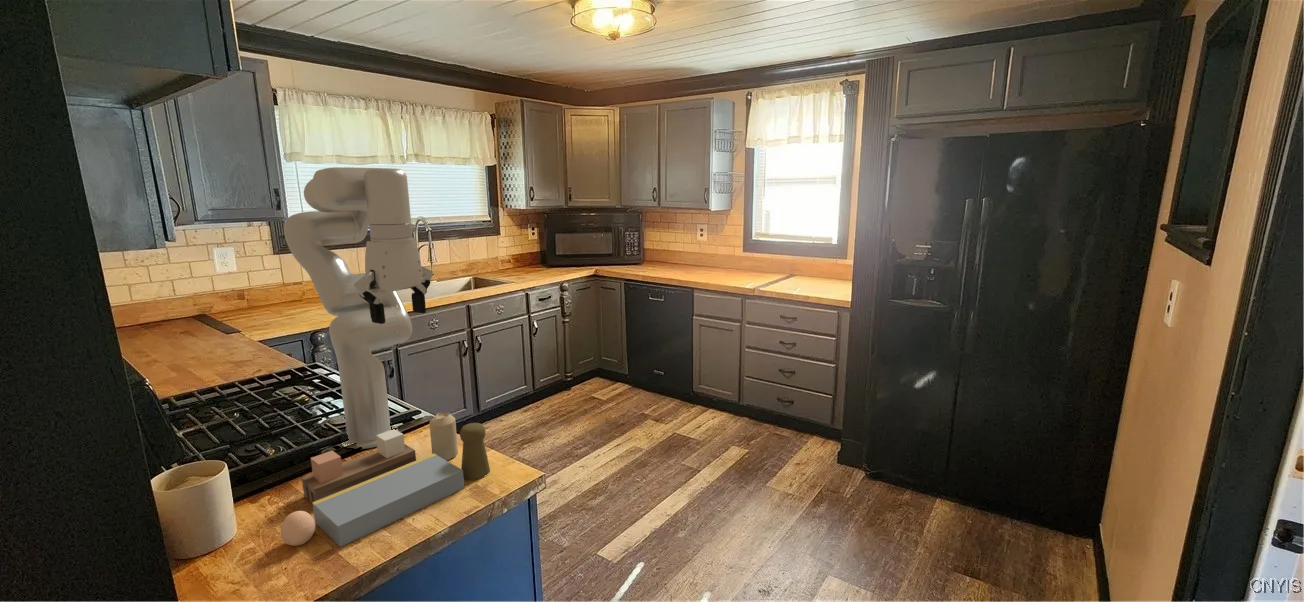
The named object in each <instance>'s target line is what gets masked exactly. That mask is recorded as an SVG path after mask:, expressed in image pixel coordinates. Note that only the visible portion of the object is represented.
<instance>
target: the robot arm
mask: <svg viewBox="0 0 1304 602" xmlns="http://www.w3.org/2000/svg"><path fill="white" fill-rule="evenodd" d="M407 177H408V176H407V174H406V172H405V171H404V170H402V169H401V168H393V167H391V168H389V167H386V168H384V167H353V166H351V167H350V166H348V167H345V166H344V167H342V166H341V167H340V166H339V167H335V166H334V167H327V168H322V169H319V170H316V171H315V172H314V174H313V177H312V179H310V180H309V181H308V182H307V183H306V184H305V186H304V189H303V197H304V199H305V201H306V203H307V204H308V205H309V206H310V207H311V208H312V209H314V210H313V211H302V212H298V213H294V214H291V215H290V216H288V217H287V218H286V220H285V221H284V224H283V233H284V237H285V242H286V244H287V247H288V249H289V251H290V253H291V254H292V256H293V257H294V259H295V260H296V261H297V262H298V264H300V265H301V267H302V268H303V269H304V270H305V271H306V273H307V274H308V276H309V278H310V280H311V282H312V284H313V286H314V288H315V290H316V294H317V295H318V297H319V300H320V302H321V304H322V305H323V307H324V309H325V310H326V311H327V313H328V314H330V315H331V316H335V317H334V319H332V321H331V322H330V324H329V326H328V327H329V328H328V331H329V337H330V341H331V345H332V347H333V350H334V353H335V354H334V355H335V358H336V363H337V367H338V373H339V383H340V387H341V388H340V390H341V397H342V405H343V411H344V421H345V427H346V428H345V429H346V430H345V431H346V432H347V435H348V439H349V440H348V441H346V442H344V443H343V444H345V445H346V444H347V445H348V444H352V443H357V444H356V445H357V446H359V447H362V449H361V450H364V449H372V448H377V439H376V435H378V434H381V433H384V432H387V431H390V430H391V426H390V423H391V418H390V417H391V416H390V408H389V400H388V399H389V398H388V389H387V379H386V371H385V367H384V364H383V362H382V361H381V360H380V359H379V358H377V357H376V356H375V355H374V354H373V353H372V351H373V350H377V349H381V348H386V347H392V346H395V345H399V344H402V343H405V342H407V341H408V340H409V339H410V338H411V336H412V334H413V324H412V321H411V318H410V316H409V313H408V310H407V308H405V306H404V303H403V301H402V299H401V297H400V296H399V293H398V292H399V291H402V290H407V289H410V290H411V291H412V293H411V306H412V311H413V312H414V313H419V314H426V313H427V308H426V296H425V295H426V294H427V293H428V288H429V286H430V285H431V280H432V277H433V274H434V273H433V270H431V269H430V268H429V269H428V268H426V267H424V266H422V262H421V257H420V253H419V248H418V246H417V242H416V239H415V237H413V233H414V232H415V231H416V226H415V225H412V217H411V207H410V196H409V185H408V184H409V183H408V178H407ZM368 230H369V237H370V240H367V241H366V245H365V253H364V254H365V255H364V273H360V274H355V273H353V272H352V271H351V270H350V267H349V266H348V264H347V262H346V261H345V260H344V259H343V258H342V257H341V256H340V255H339V254H337V253H335V252H333V251H331V250H330V249H328V248H326V247H324V246H337V245H347V244H349V245H350V244H357V243H360V242H363V240H365V238H366V236H367V234H368ZM397 291H398V292H397ZM393 428H398V426H397V425H396V426H392V429H393ZM396 430H397V431H399V429H396Z"/></svg>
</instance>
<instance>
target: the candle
mask: <svg viewBox="0 0 1304 602" xmlns="http://www.w3.org/2000/svg"><path fill="white" fill-rule="evenodd" d="M456 421H457V420H456V418H455V417H454V415H452V414H451V413H449V412H446V413H443V412H437V413H436V415H434V417H432V418H431V419H430V421H429V434H430V442H431V443H430V444H431V454H436V455H438V456H439V457H441V458H443V459H444V460H446V461H449V460H448V459H450V460H452V459H454V458H456V457H457V456H458V454H459V451H458V450H459V449H458V435H457V422H456ZM456 455H457V456H456ZM455 456H456V457H455ZM453 457H454V458H453ZM451 458H452V459H451Z"/></svg>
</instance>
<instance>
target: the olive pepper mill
mask: <svg viewBox="0 0 1304 602" xmlns="http://www.w3.org/2000/svg"><path fill="white" fill-rule="evenodd" d="M459 437H460V440H461V441H462V453H461V454H462V455H461V467H460V469H462V470H463V477H464V480H466V481H467V480H468V481H475V480H476V479H477V480H480V478H481V479H483V478H485V477H486V476H485V475H487V474H488V473H489V472H490V473H491V466H490V462H489V459H488V454H487V449H486V445H485V437H486V428H485V426H484V425H483V424H482V423H480V422H471V423H467V424H464V425H463V426H462V427H461V429H460V430H459ZM490 473H489V474H490ZM489 474H488V475H489ZM488 475H487V476H488ZM484 476H485V477H484ZM482 477H483V478H482Z"/></svg>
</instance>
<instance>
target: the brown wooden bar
mask: <svg viewBox="0 0 1304 602" xmlns="http://www.w3.org/2000/svg"><path fill="white" fill-rule="evenodd" d="M404 444H405V443H404ZM416 455H417V454H416V450H415V449H414V448H412V447H411V446H409V445H407V444H405V451H404V452H402V453H399V454H396V455H394V456H391V457H389V458H386V457H384V456H383V455H381V454H380V453H378V449H376V450H373V451H370V452H368V453H365V454H362V455H360V456H357V457H354V458H352V459H348V460H346V461H343V462H342V470H343V475H342V476H339V477H337V478H334V479H332V480H329V481H326V482H324V483H320V482H319V481H318V480H317V479H316V478H314V477H313V473H310V474H308V475H305V476H303V477H301V481H302V483H301V484H302V489H303V494H304V495H303V496H304V498H305V499H306V500H308V501H309V503H310V504H312V502H315V501H317V500H320V499H322V498H325V497H327V496H330V495H332V494H335V493H337V492H340V491H342V490H345V489H347V488H350V487H352V486H355V485H357V484H359V483H362V482H364V481H367V480H369V479H372V478H374V477H377V476H379V475H382V474H384V473H387V472H389V471H392V470H394V469H397V468H399V467H402V466H404V465H406V464H409V463H411V462H414V461H416V460H417V456H416Z"/></svg>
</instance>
